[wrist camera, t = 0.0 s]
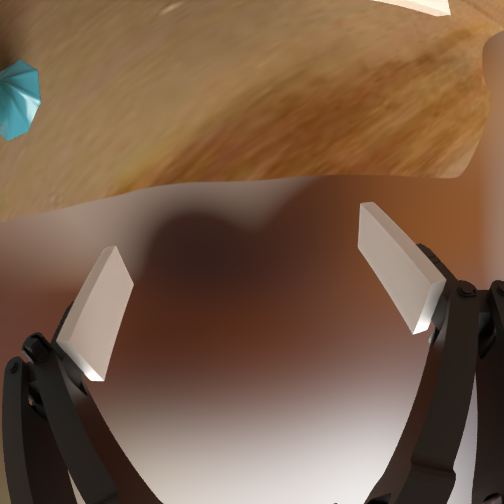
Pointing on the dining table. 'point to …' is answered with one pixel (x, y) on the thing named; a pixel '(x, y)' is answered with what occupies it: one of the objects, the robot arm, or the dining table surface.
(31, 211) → the dining table surface
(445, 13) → the slab
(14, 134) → the vase
